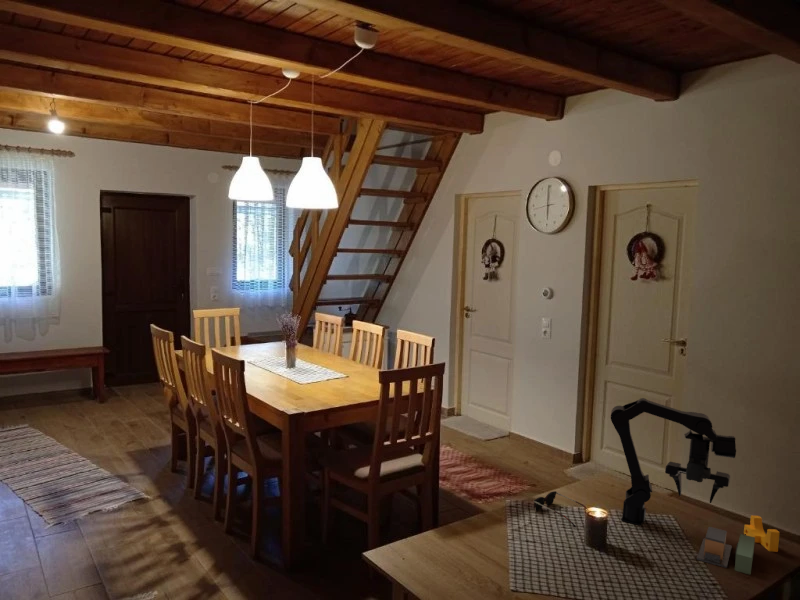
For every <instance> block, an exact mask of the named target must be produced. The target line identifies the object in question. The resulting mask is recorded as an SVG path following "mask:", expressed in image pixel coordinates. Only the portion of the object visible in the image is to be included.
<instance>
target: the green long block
mask: <svg viewBox="0 0 800 600" xmlns="http://www.w3.org/2000/svg"><path fill="white" fill-rule="evenodd" d="M755 544H756V543H755V537H751V536H747V535H745V534H744V533H743V534H742V533H739V539H738V542H737V544H736V547H735V553H734V554H735V555H734V560H735V562H734V564H735V565H734V571H735V572H738V573H742V574H746V575H750V576H751V573H752V567H753V566H752V565H753V559H754V551H755Z"/></svg>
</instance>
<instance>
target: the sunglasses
mask: <svg viewBox="0 0 800 600" xmlns="http://www.w3.org/2000/svg"><path fill="white" fill-rule="evenodd" d="M556 495H559V496H562V497H563V498H565V499H568V500H570V501H572V502H575V503H576V504H578V505H580V506H582V507H584V509H585V510H586V509H587V510H588V508H587V507H586V506H585V504H582V503H580V502H579V501H577V500H574V499H572V498H569V497H568V496H565V495H563V494H561V493H559V492H557V491H555V490H554V491H550V492H549V493H548V494H546V495H545V497H544V496H539V497H537V498H535V499H533V503H534V504H533V507H534V509H535V512H537V511H539V510H541V509H543V508H545V509H547V510H549V511H551V512H552V513H553V512H554V513H555V514H558V515H559V516H561V517H564V518H565V519H566V521H568V522H569V523H570V524H572V527H573V528H577V526H576V525H575V524H574V523H573V522H572V520H570V519H569V517H567V516H565V515H564V514H562V513H560V512H557V511H556V510H553V509H551V508H550V507H548V506H551V505H552V504H554V500H555V499H556ZM545 505H546V506H545Z"/></svg>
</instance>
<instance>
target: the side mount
mask: <svg viewBox="0 0 800 600" xmlns="http://www.w3.org/2000/svg"><path fill="white" fill-rule="evenodd" d="M705 538H706V537H705ZM705 538H702V542H701V545H700V547H699V548H700V549H699V551H698V554H697V556H696V561H700V562H704V563H707V564H709V565H715V566H718V567H722V568H725V569H727V568H728V565H729V561H730V557H731V552H732V548H733V547H732V545H731V544H729V543H728V544H727V543H726V544H725V551H724V556H723V560H721V559H720V555H717V554H713V553H709V552H705V555H704V549H705Z"/></svg>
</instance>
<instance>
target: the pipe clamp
mask: <svg viewBox="0 0 800 600" xmlns="http://www.w3.org/2000/svg"><path fill="white" fill-rule="evenodd" d="M749 521H750V524H744V526H743V527H744V529H743V535H745V534H746V535H747V536H751V537H755V544H756V543H758V544H760V545H761V546H762V547H763V548H765V549H766V550H767V551H768V552H776V553H778V551H779V541H780V533H781V532H780V531H778V530H777V529H774V528H773V529H771V528H768V529H767V530H766V531H767V532H766V531H765V530H764V527H763V526H764V525H763V518H762V517H761V516H760V515H752V514H751V515H750V520H749Z"/></svg>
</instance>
